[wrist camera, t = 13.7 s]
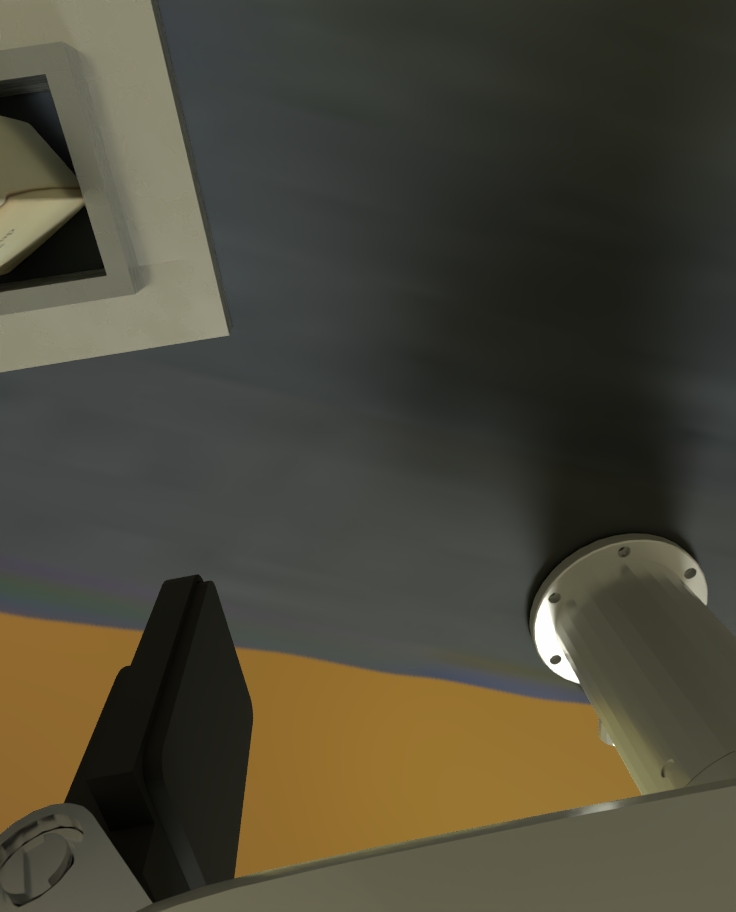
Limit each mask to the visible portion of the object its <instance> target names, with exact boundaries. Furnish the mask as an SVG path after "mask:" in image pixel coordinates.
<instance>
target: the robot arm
mask: <svg viewBox="0 0 736 912" xmlns="http://www.w3.org/2000/svg"><path fill="white" fill-rule="evenodd" d="M707 601H708V587H707V583H706V580H705V576H704V573H703V572H702V570H701V568H700V566H699V565H698V563H697V562H696V561H695V560H694V559H693V558H692V557H691V556H690V555H689V554H688V553H687V552H686V551H685V550H684V549H683V548H681V547H680V546H679V545H677V544H676V543H674V542H672V541H670V540H668V539H665V538H663V537H659V536H655V535H650V534H636V533H630V534H623V535H615V536H611V537H608V538H605V539H601V540H598V541H595V542H593V543H591V544H589V545H587V546H585V547H583V548H581V549H579V550H577V551H576V552H575V553H573V554H572V555H570V556H569V557H567V558H566V559H564V560H563V561H562V562H561V563H560V564H559V565H558V566H557V567H556V568H555V569H554V570H552V572H551V573H550V574H549V575H548V577H547V578H546V579H545V581H544V582H543V583H542V585H541V587H540V588H539V590H538V592H537V594H536V596H535V598H534V601H533V605H532V608H531V611H530V622H529V627H530V633H531V639H532V641H533V643H534V645H535V648H536V650H537V652H538V654H539V655H540V657H541V659H542V660H543V662H544V663H545V664H546V665H547V666H548V667H549V668H550V669H551V670H552V671H553V672H554V673H556V674H558V675H559V676H561V677H563V678H564V679H567V680H570V681H573V682H575V683H580V684H581V686H582V688H583V690H584V692H585V693H586V695H587V697H588V699H589V701H590V702H591V704H592V706H593V708H594V709H595V711H596V713H597V715H598V717H599V723H598V735H599V737H600V739H601V740H602V741H603V742H605V743H606V744H609V745H612V746H615V747H616V749H617V751H618V753H619V754H620V756H621V758H622V760H623V761H624V763H625V765H626V767H627V768H628V771H629V772H630V774H631V776H632V778H633V780H634V781H635V783H636V785H637V787H638V789H639V790H640V792H641V794H642V796H637V797H632V798H626V799H622V800H616V801H611V802H605V803H600V804H595V805H590V806H585V807H579V808H574V809H569V810H563V811H558V812H553V813H548V814H543V815H538V816H533V817H527V818H523V819H517V820H512V821H507V822H502V823H497V824H492V825H487V826H482V827H477V828H471V829H467V830H462V831H456V832H451V833H446V834H441V835H436V836H431V837H426V838H420V839H415V840H410V841H405V842H400V843H395V844H390V845H385V846H380V847H375V848H370V849H365V850H361V851H356V852H351V853H346V854H342V855H338V856H332V857H328V858H323V859H318V860H314V861H309V862H304V863H300V864H295V865H290V866H286V867H281V868H277V869H272V870H268V871H263V872H258V873H254V874H250V875H246V876H242V877H239V878H234V875H235V867H236V858H237V850H238V841H239V833H240V824H241V817H242V808H243V800H244V791H245V782H246V775H247V766H248V758H249V750H250V741H251V732H252V725H253V710H252V703H251V699H250V696H249V692H248V689H247V686H246V683H245V680H244V676H243V673H242V670H241V666H240V664H239V660H238V657H237V654H236V651H235V647H234V644H233V641H232V638H231V635H230V631H229V628H228V625H227V622H226V619H225V616H224V612H223V609H222V606H221V603H220V600H219V596H218V593H217V590H216V587H215V585H214V583H213V582H212V581H206V582H203V579H202V578H201V576H200V575H192V576H187V577H181V578H176V579H171V580H166V581H164V583H163V585H162V587H161V590H160V592H159V595H158V597H157V600H156V602H155V605H154V607H153V610H152V613H151V615H150V618H149V620H148V623H147V625H146V628H145V630H144V633H143V635H142V638H141V640H140V643H139V646H138V648H137V651H136V653H135V656H134V658H133V661H132V663H131V665H130V666H126V667H124V668H122V669H121V670H120V672H119V673H118V675H117V677H116V679H115V681H114V684H113V686H112V689H111V691H110V693H109V696H108V698H107V701H106V703H105V706H104V708H103V710H102V713H101V715H100V717H99V720H98V722H97V725H96V727H95V729H94V732H93V734H92V737H91V739H90V741H89V744H88V746H87V749H86V751H85V754H84V756H83V758H82V761H81V763H80V766H79V768H78V770H77V773H76V775H75V778H74V780H73V782H72V785H71V787H70V790H69V792H68V795H67V797H66V799H65V802H64V803H63V804H54V805H50V806H47V807H44V808H42V809H39V810H36V811H33V812H32V813H30V814H28V815H27V816H25V817H23V818H22V819H20V820H18V821H16V822H15V823H13V824H12V825H11V826H10V827H9V828H7V829H6V830H5V831H4V832H3V833H1V834H0V912H736V637H735V636H734V635H733V634H732V633H731V632H730V630H729V629H728V628H727V627H726V626H725V625H724V624H723V623H722V622H721V621H720V620H719V619H718V618H717V617H716V616H715V615H714V614H713V613H712V611H711V610H710V609H709V608H708V607H707Z"/></svg>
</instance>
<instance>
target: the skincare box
mask: <svg viewBox="0 0 736 912" xmlns="http://www.w3.org/2000/svg"><path fill="white" fill-rule="evenodd" d="M84 206H85V202H84V199H83V195H82V192H81V189H80V185H79V182H78V179H77V177H76V176H75V175H74V173H73V172H72V171H71V170H70V169H69V168H68V166H67V165H66V164H65V163H64V162H63V161H62V160H61V158H60V157H59V156H58V155H57V154H56V153H55V152H54V150H53V149H52V148H51V147H50V146H49V145H48V144H47V143H46V141H45V140H44V139H43V138H42V137H41V136H40V135H39V134H38V132H37V131H36V130H35V129H34V128H33V127H32V126H31V125H30V124H29V123H27V122H24V121H20V120H16V119H12V118H8V117H4V116H0V275H3V274H7V273H9V272H11V271H12V270H13V269H14V268H15V267H16V266H17V265H18V264H20V263H21V262H22V261H23V260H24V259H26V258H27V257H28V256H29V255H30V254H31V253H33V252H34V251H35V250H36V249H37V248H38V247H40V246H41V245H42V244H43V243H44V242H45V241H46V240H48V239H49V238H50V237H51V236H52V235H53V234H54V233H55V232H57V231H58V230H59V229H60V228H61V227H62V226H63V225H64V224H65V223H66V222H67V221H69V220H70V219H71V218H72V217H73V216H74V215H75V214H76V213H77V212H78V211H80V210H81V209H82V208H83V207H84Z"/></svg>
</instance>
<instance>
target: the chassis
mask: <svg viewBox="0 0 736 912" xmlns="http://www.w3.org/2000/svg"><path fill="white" fill-rule="evenodd" d="M47 90H51V94H52V97H53V100H54V104H55V107H56V110H57V113H58V117H59V120H60V123H61V126H62V130H63V133H64V136H65V140H66V143H67V146H68V149H69V153H70V156H71V159H72V163H73V166H74V169H75V172H76V176H77V179H78V182H79V185H80V189H81V192H82V195H83V199H84V202H85V205H86V208H87V212H88V215H89V218H90V222H91V225H92V228H93V231H94V235H95V238H96V241H97V244H98V248H99V251H100V254H101V258H102V261H103V264H104V267H105V268H100V269H94V270H87V271H81V272H74V273H68V274H62V275H55V276H49V277H42V278H36V279H30V280H23V281H17V282H10V283H4V284H0V372H5V371H11V370H17V369H23V368H29V367H36V366H42V365H48V364H54V363H60V362H66V361H73V360H79V359H85V358H91V357H97V356H104V355H110V354H116V353H122V352H128V351H135V350H141V349H147V348H153V347H159V346H165V345H172V344H178V343H184V342H190V341H196V340H203V339H209V338H215V337H221V336H227V335H229V334H230V332H231V329H232V327H233V326H232V322H231V317H230V313H229V309H228V304H227V300H226V296H225V291H224V287H223V283H222V278H221V274H220V270H219V265H218V261H217V257H216V252H215V248H214V244H213V239H212V235H211V231H210V226H209V222H208V218H207V213H206V209H205V205H204V200H203V196H202V192H201V187H200V183H199V179H198V174H197V170H196V166H195V161H194V157H193V153H192V148H191V144H190V139H189V135H188V131H187V126H186V122H185V118H184V113H183V109H182V105H181V100H180V96H179V92H178V87H177V83H176V79H175V74H174V70H173V66H172V61H171V57H170V53H169V48H168V44H167V40H166V35H165V31H164V27H163V22H162V18H161V14H160V9H159V5H158V1H157V0H0V97H6V96H13V95H20V94H27V93H34V92H41V91H47Z"/></svg>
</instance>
